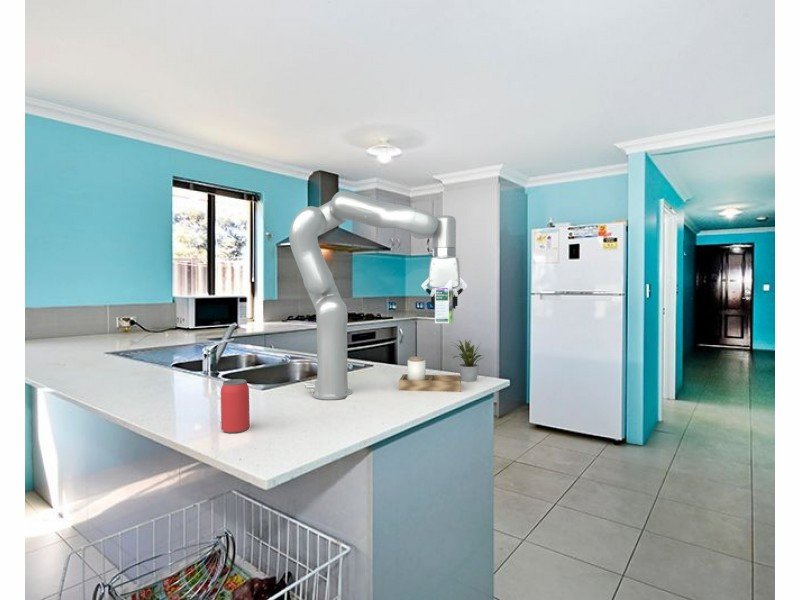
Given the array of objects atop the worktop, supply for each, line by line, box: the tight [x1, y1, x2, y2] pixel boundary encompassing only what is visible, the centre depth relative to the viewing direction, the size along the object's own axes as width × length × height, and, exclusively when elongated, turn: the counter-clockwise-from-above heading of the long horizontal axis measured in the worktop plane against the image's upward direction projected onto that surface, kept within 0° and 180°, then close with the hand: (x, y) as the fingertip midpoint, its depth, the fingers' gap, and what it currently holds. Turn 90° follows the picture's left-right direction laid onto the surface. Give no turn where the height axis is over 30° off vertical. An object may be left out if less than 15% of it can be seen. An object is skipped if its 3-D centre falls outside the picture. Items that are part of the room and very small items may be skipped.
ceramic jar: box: [407, 355, 426, 380], centre depth 158 cm, size 6×6×10 cm
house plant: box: [450, 339, 484, 383], centre depth 169 cm, size 14×14×16 cm
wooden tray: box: [398, 373, 462, 393], centre depth 158 cm, size 20×10×4 cm, turn 82°
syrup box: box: [434, 280, 455, 325], centre depth 156 cm, size 6×6×14 cm
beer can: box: [220, 378, 251, 434], centre depth 116 cm, size 7×7×12 cm
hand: (444, 307), depth 156 cm, fingers closed on syrup box, 5 cm apart
